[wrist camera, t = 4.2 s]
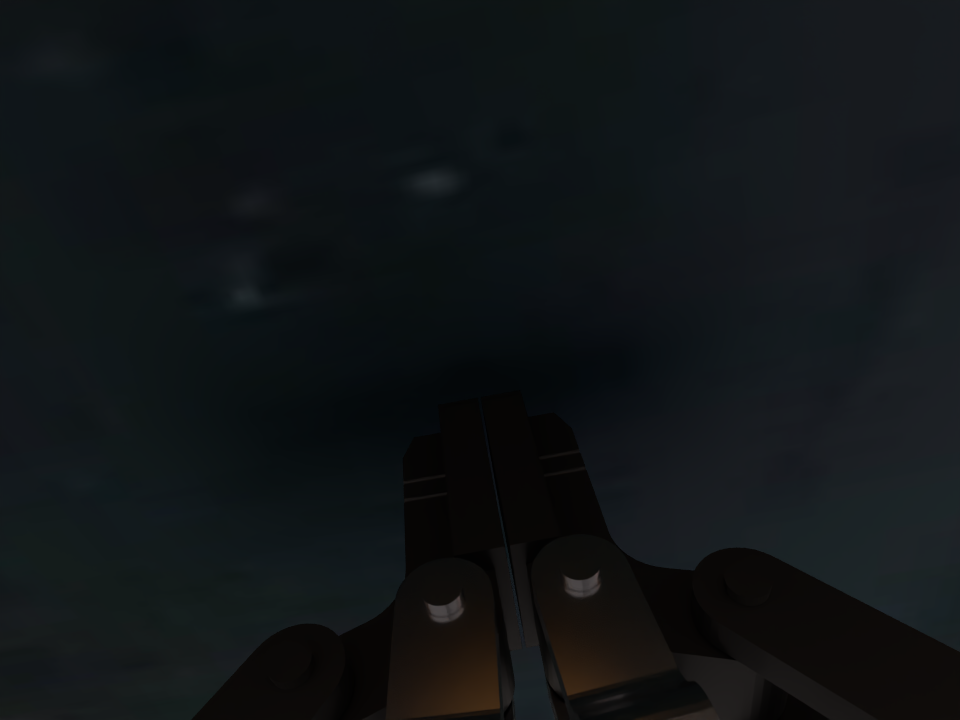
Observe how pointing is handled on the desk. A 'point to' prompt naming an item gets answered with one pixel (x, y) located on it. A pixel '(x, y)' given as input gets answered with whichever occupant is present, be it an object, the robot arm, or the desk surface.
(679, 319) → the desk surface
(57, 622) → the desk surface
